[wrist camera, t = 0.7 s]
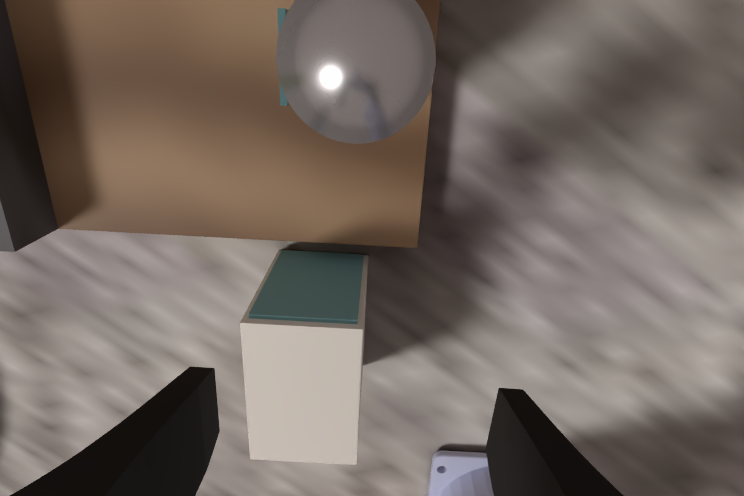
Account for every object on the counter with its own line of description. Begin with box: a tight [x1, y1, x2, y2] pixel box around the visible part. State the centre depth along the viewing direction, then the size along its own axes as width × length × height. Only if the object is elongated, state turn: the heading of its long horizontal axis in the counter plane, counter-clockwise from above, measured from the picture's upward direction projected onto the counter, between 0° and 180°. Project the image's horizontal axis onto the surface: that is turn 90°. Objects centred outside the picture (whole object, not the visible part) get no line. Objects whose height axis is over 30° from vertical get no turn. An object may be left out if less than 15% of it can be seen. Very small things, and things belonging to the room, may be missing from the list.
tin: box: [276, 0, 436, 144], centre depth 14 cm, size 4×4×5 cm
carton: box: [240, 250, 368, 465], centre depth 19 cm, size 6×4×6 cm, turn 177°
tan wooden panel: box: [0, 0, 441, 252], centre depth 16 cm, size 10×16×4 cm, turn 87°
